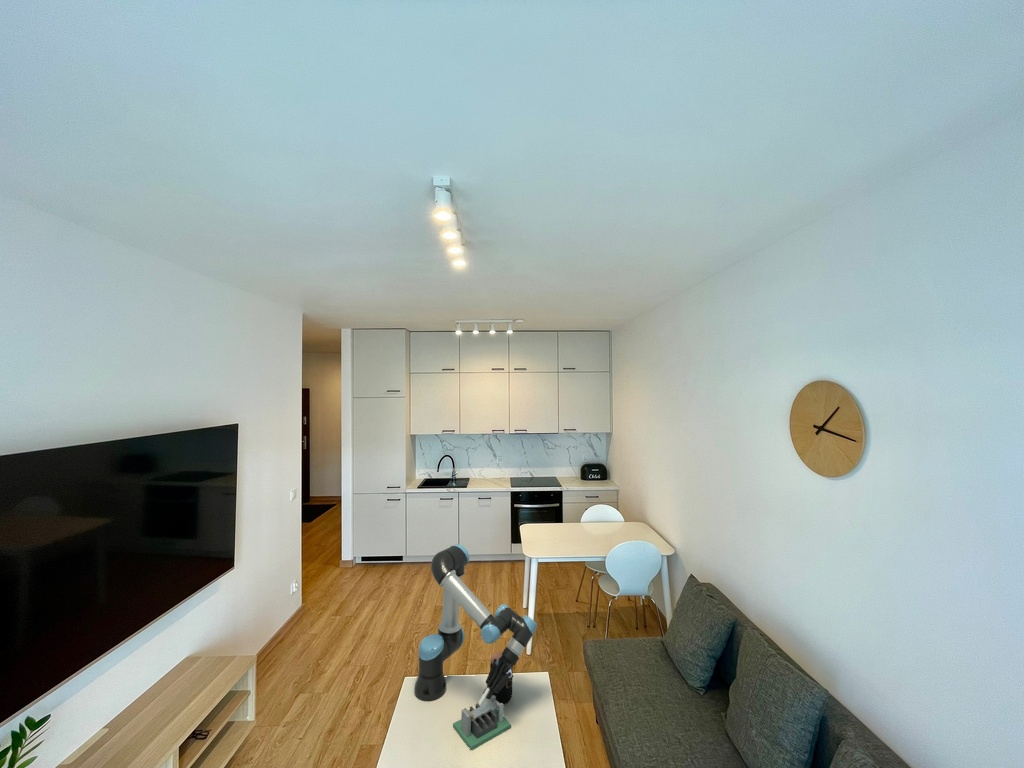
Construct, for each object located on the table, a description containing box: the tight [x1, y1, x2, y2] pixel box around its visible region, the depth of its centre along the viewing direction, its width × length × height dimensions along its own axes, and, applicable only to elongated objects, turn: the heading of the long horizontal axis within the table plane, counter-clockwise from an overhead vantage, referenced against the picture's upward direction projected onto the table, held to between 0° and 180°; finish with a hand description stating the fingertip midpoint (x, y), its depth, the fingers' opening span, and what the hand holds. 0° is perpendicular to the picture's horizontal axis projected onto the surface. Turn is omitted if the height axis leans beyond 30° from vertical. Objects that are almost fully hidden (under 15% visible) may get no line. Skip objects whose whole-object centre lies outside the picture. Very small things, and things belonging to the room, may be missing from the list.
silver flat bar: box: [467, 699, 500, 721], centre depth 177 cm, size 4×15×2 cm, turn 126°
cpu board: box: [452, 695, 512, 751], centre depth 176 cm, size 15×20×10 cm
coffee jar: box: [489, 651, 514, 705], centre depth 195 cm, size 11×11×18 cm
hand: (481, 705), depth 175 cm, fingers closed
